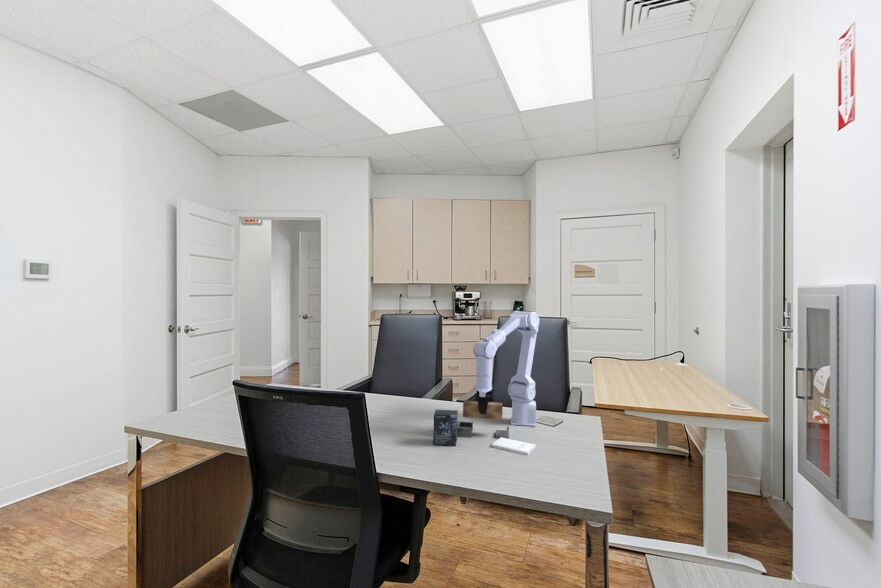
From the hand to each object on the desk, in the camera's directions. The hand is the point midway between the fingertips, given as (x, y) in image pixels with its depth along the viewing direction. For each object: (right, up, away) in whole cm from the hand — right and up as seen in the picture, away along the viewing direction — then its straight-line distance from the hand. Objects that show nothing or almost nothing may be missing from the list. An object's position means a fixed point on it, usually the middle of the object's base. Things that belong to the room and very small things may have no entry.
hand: (483, 412), depth 149 cm
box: (-14, -8, -9) cm, 18 cm away
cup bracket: (-7, -8, +1) cm, 10 cm away
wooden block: (0, -2, 0) cm, 2 cm away
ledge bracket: (+7, -8, -1) cm, 11 cm away
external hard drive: (+9, -9, -12) cm, 17 cm away
